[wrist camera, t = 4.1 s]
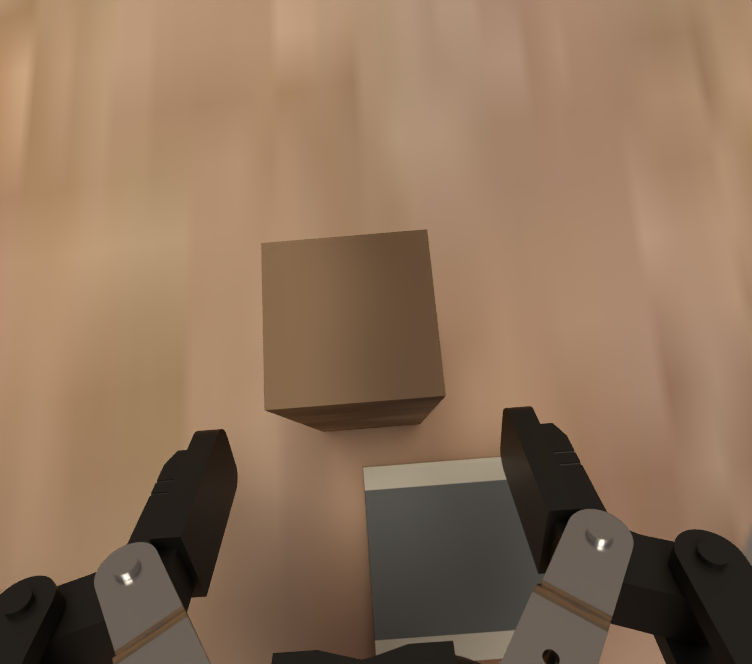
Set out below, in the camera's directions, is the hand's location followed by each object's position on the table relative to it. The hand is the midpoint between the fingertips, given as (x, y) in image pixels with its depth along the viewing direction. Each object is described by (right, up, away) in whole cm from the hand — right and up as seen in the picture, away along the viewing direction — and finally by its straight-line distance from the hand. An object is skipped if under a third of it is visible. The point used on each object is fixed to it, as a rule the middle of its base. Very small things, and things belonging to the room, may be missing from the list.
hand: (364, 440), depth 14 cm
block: (0, +1, +9) cm, 9 cm away
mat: (+4, -7, +7) cm, 11 cm away
